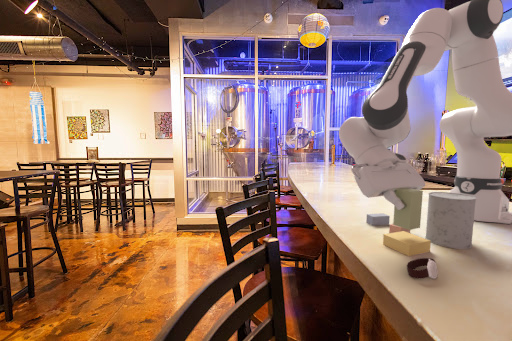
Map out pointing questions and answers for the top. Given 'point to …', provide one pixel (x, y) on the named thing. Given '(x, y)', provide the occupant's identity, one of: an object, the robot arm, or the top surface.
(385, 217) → the slate brick
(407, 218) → the olive brick
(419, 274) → the watch
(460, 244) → the speckled grey cylinder
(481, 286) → the top surface
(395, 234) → the ochre slab
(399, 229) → the terracotta brick
